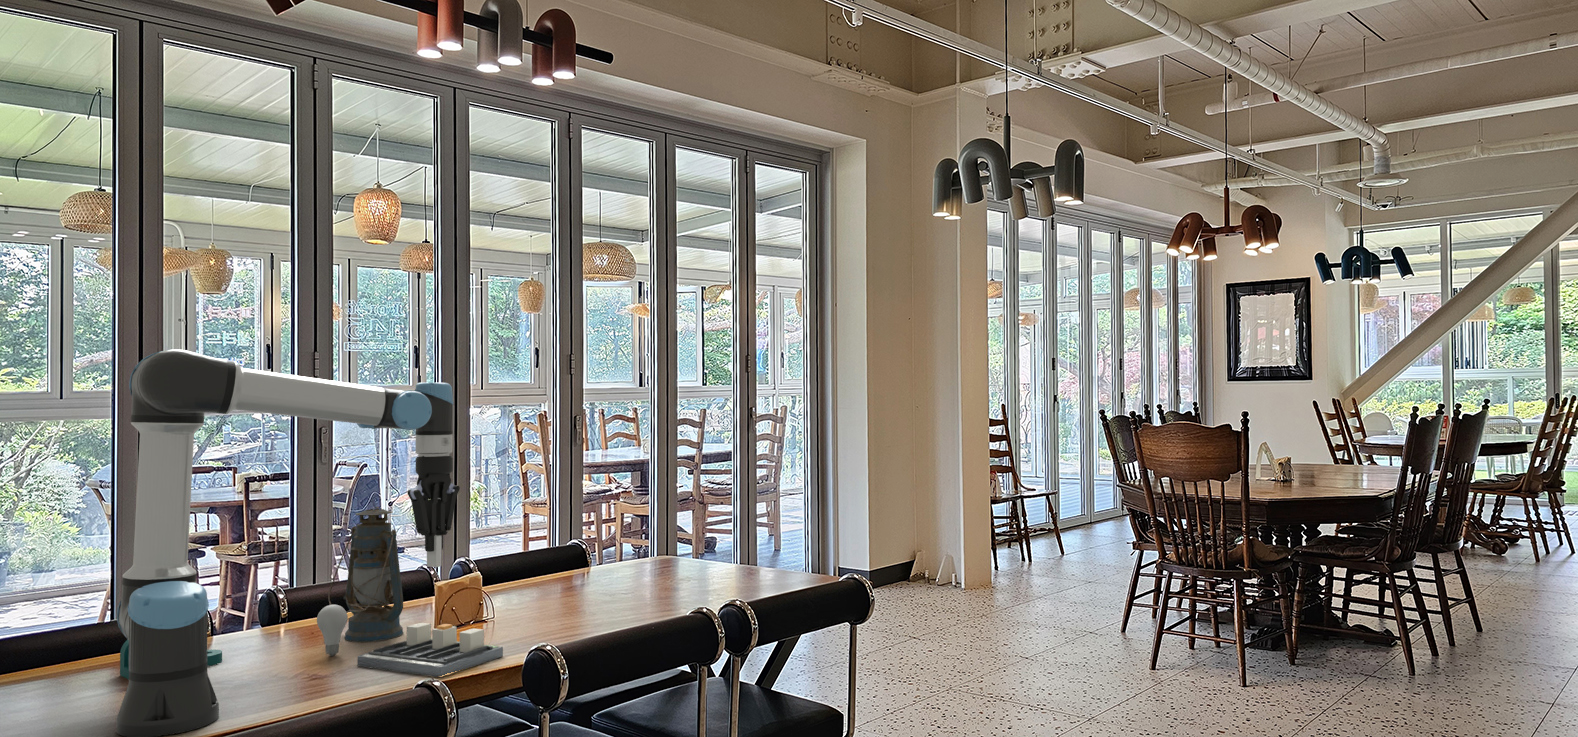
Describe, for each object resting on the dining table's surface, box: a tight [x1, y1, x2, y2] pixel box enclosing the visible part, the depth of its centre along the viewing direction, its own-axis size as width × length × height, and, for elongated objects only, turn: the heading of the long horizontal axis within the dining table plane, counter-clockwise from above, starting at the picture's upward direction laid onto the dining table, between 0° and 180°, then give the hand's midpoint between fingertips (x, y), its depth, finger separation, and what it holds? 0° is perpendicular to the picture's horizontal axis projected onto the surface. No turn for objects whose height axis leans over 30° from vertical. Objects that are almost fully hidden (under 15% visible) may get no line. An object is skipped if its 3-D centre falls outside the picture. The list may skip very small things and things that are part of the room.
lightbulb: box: [316, 604, 349, 657], centre depth 225 cm, size 6×6×11 cm
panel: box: [356, 637, 504, 678], centre depth 219 cm, size 18×23×3 cm
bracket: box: [119, 639, 223, 680], centre depth 216 cm, size 18×7×8 cm, turn 140°
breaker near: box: [459, 628, 485, 652], centre depth 220 cm, size 4×3×4 cm
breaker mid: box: [431, 623, 458, 649], centre depth 223 cm, size 4×3×5 cm
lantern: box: [327, 506, 404, 643], centre depth 243 cm, size 19×14×30 cm
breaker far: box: [406, 622, 432, 645], centre depth 226 cm, size 4×3×4 cm
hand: (434, 566), depth 221 cm, fingers closed
